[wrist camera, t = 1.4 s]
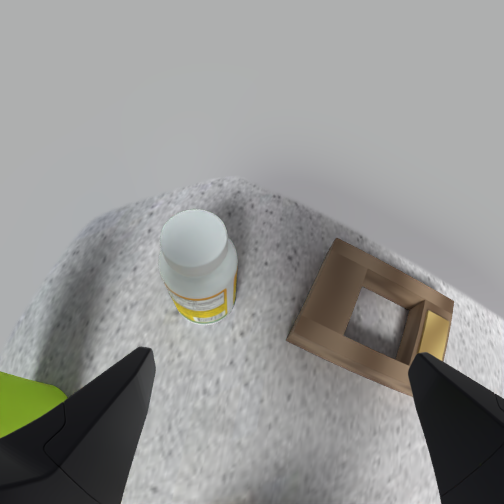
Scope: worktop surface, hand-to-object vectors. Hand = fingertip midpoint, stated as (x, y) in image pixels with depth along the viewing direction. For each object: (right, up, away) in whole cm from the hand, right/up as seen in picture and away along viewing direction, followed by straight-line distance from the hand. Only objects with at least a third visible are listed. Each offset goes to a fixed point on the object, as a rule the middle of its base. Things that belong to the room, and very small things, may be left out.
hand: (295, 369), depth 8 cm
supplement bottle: (-5, 0, +16) cm, 17 cm away
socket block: (+10, -3, +16) cm, 19 cm away
